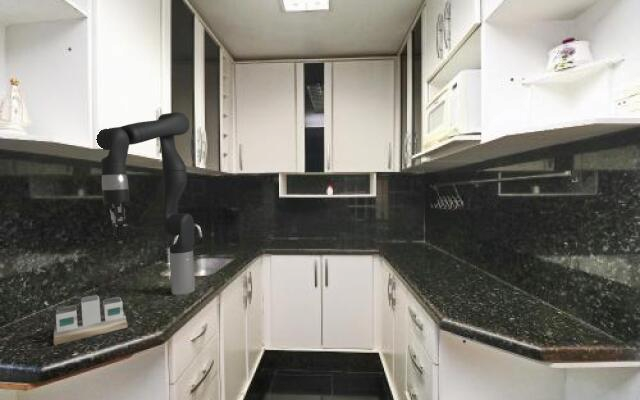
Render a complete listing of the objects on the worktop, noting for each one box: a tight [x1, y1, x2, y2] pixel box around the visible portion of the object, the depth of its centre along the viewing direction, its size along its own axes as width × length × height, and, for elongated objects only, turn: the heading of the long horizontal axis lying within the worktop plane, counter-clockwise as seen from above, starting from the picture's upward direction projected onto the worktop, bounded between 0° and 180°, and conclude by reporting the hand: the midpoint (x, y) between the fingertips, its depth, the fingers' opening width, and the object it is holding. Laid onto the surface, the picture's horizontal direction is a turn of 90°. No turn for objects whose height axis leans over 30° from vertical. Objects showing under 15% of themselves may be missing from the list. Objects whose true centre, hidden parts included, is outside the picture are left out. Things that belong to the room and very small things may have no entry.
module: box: [80, 294, 101, 326], centre depth 103 cm, size 6×4×8 cm
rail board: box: [53, 296, 129, 346], centre depth 103 cm, size 12×18×8 cm, turn 127°
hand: (119, 236), depth 112 cm, fingers open, 8 cm apart
